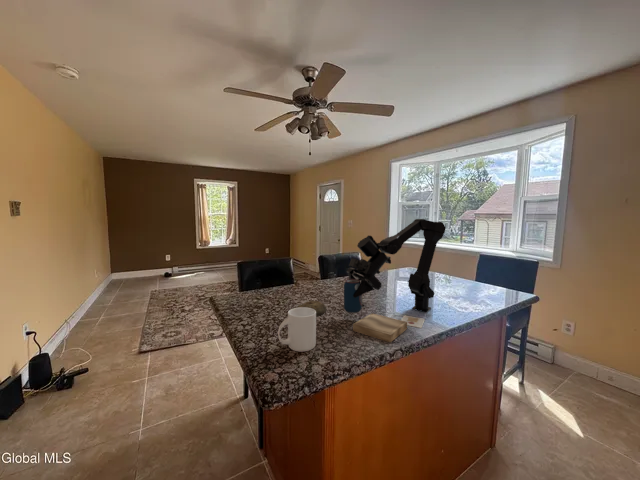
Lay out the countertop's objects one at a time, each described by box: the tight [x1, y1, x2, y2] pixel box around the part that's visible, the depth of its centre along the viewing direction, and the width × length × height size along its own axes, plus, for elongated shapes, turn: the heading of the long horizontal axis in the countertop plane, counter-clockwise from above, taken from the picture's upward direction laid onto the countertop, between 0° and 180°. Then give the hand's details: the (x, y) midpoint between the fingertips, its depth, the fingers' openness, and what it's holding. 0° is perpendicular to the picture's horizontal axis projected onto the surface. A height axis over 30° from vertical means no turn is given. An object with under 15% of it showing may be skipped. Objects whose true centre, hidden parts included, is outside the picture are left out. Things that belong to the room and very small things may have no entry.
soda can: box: [343, 278, 363, 314], centre depth 101 cm, size 7×7×12 cm
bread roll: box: [296, 299, 327, 318], centre depth 111 cm, size 13×12×5 cm
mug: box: [277, 307, 317, 353], centre depth 79 cm, size 9×12×11 cm
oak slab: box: [352, 313, 408, 343], centre depth 92 cm, size 14×14×3 cm
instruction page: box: [400, 315, 426, 329], centre depth 100 cm, size 10×8×1 cm
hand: (349, 294), depth 101 cm, fingers closed on soda can, 7 cm apart
